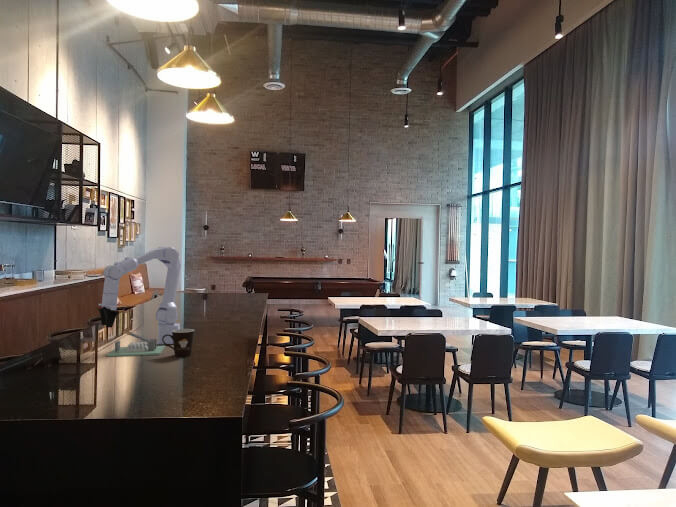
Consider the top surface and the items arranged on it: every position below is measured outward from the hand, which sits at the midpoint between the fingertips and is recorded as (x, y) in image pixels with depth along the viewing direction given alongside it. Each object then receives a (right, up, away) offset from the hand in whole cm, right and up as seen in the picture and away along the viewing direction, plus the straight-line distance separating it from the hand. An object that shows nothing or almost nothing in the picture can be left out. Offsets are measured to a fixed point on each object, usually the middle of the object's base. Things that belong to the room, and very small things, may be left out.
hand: (106, 326), depth 198 cm
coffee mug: (+32, -11, -4) cm, 34 cm away
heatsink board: (+12, -11, +1) cm, 16 cm away
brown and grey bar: (+13, -6, +1) cm, 14 cm away
